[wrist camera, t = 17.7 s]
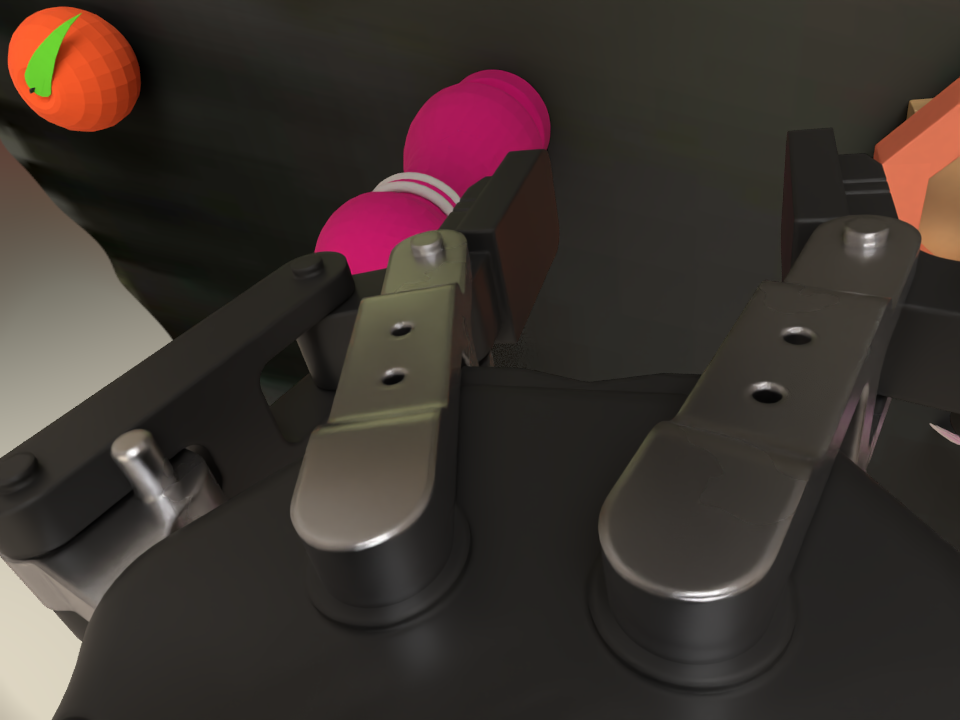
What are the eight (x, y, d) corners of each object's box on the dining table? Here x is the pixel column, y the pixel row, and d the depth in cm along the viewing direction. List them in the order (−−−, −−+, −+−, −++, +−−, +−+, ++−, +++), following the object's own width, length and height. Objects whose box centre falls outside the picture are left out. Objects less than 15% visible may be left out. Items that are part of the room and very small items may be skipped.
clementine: (82, -48, 42) (-16, -23, 36) (183, 34, 43) (102, 70, 38) (57, 59, 47) (-32, 95, 42) (148, 130, 48) (72, 173, 43)
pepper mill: (578, 88, 38) (460, 286, 23) (536, 203, 43) (416, 427, 28) (453, 38, 38) (258, 202, 24) (426, 158, 43) (249, 356, 28)
